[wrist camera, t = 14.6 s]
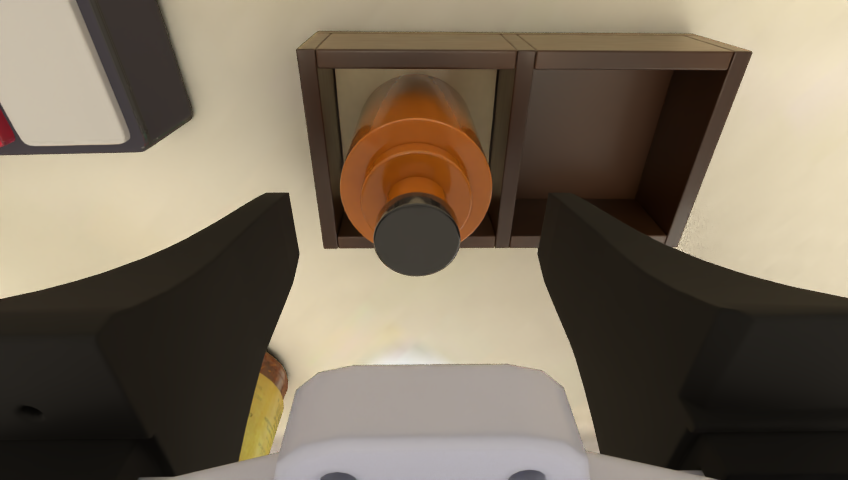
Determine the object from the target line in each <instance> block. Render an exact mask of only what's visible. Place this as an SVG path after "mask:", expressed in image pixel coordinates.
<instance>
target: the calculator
mask: <svg viewBox="0 0 848 480" xmlns="http://www.w3.org/2000/svg"><path fill="white" fill-rule="evenodd" d="M191 118H192V109H191V105H190V102H189V99H188V96H187V93H186V90H185V87H184V83H183V80H182V77H181V74H180V71H179V68H178V65H177V62H176V59H175V55H174V52H173V49H172V46H171V43H170V40H169V37H168V34H167V31H166V27H165V24H164V21H163V18H162V15H161V12H160V9H159V6H158V3H157V0H0V155H33V154H79V153H125V152H142V151H145V150H147V149H149V148H150V147H152V146H153V145H155V144H156V143H157V142H159V141H160V140H162V139H163V138H165V137H166V136H168V135H169V134H171V133H172V132H174V131H175V130H177V129H178V128H180V127H181V126H182V125H184V124H185V123H187V122H188V121H189V120H190V119H191Z"/></svg>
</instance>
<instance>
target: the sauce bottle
mask: <svg viewBox="0 0 848 480" xmlns="http://www.w3.org/2000/svg"><path fill="white" fill-rule="evenodd" d="M287 389H288V379H287V374H286V371H285V370H284V368H283V366H282V364H281V363H279V362H278V361H277V360H276V359H275V358H274V357H273V356H271V355H270V354H269V353H268V352H266V353H265V356H264V359H263V362H262V366H261V370H260V373H259V377H258V381H257V385H256V388H255V392H254V396H253V400H252V404H251V408H250V413H249V417H248V421H247V425H246V429H245V434H244V439H243V443H242V448H241V453H240V457H239V461H244V460H248V459H252V458H256V457H260V456H265V455H269V453H270V450H271V446H272V443H273V440H274V437H275V434H276V431H277V427H278V424H279V421H280V418H281V415H282V412H283V408H284V407H283V399H284V396H285V394H286V391H287Z"/></svg>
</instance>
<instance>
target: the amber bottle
mask: <svg viewBox="0 0 848 480" xmlns="http://www.w3.org/2000/svg"><path fill="white" fill-rule="evenodd" d="M340 195H341V200H342V204H343V207H344V210H345V212H346V214H347V216H348V218H349V220H350V221H351V223H352V224H353V226H354V227H355V228H356V229H357V230H358V231H359V232H360V233H361V234H362V235H363V236H364V237H365V238H366V239H368V240H369V241H371V242H372V243H374V248H375V251H376V253H377V255H378V257H379V258H380V260H381V261H382V262H383V263H384V264H385V265H386V266H387V267H389V268H390V269H392V270H393V271H395V272H398V273H400V274H403V275H408V276H426V275H430V274H433V273H436V272H438V271H440V270H442V269H444V268H445V267H446V266H448V265H449V264H450V263H451V262H452V261H453V259H454V258H455V256H456V255H457V253H458V251H459V247H460V242H462V241H463V240H464V239H466V238H467V237H468V236H469V235H470V234H472V233H473V232H474V230H475V229H476V228H477V227H478V226H479V224H480V223H481V221H482V220H483V218H484V217H485V215H486V212H487V210H488V208H489V205H490V202H491V196H492V176H491V171H490V168H489V164H488V162H487V159H486V156H485V153H484V150H483V147H482V145H481V142H480V139H479V136H478V133H477V130H476V127H475V125H474V122H473V119H472V116H471V113H470V111H469V108H468V106H467V104H466V102H465V101H464V99H463V98H462V96H461V95H460V94H459V93H458V92H457V91H456V90H455V89H454V88H453V87H452V86H450V85H449V84H448V83H446V82H444V81H442V80H440V79H438V78H435V77H433V76H429V75H424V74H407V75H402V76H398V77H395V78H392V79H390V80H388V81H386V82H385V83H383V84H382V85H380V86H379V87H378V88H377V89H376V90H374V91H373V92H372V94H371V95H370V96H369V97H368V99H367V100H366V102H365V104H364V106H363V108H362V110H361V113H360V116H359V119H358V122H357V125H356V128H355V131H354V134H353V138H352V141H351V144H350V147H349V150H348V153H347V156H346V159H345V162H344V165H343V169H342V173H341V178H340Z"/></svg>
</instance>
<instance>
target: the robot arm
mask: <svg viewBox="0 0 848 480" xmlns="http://www.w3.org/2000/svg"><path fill="white" fill-rule="evenodd" d="M538 258H539V262H540V266H541V270H542V274H543V278H544V282H545V284H546V287H547V289H548V292H549V294H550V297H551V299H552V302H553V304H554V306H555V309H556V311H557V313H558V316H559V318H560V321H561V323H562V325H563V328H564V330H565V332H566V335H567V337H568V340H569V342H570V344H571V347H572V350H573V353H574V355H575V358H576V362H577V365H578V369H579V372H580V376H581V379H582V383H583V386H584V390H585V393H586V397H587V401H588V405H589V409H590V413H591V417H592V420H593V424H594V429H595V433H596V437H597V442H598V446H599V450H600V454H598V453H594V452H589V451H585V448H584V446H583V443H582V440H581V437H580V434H579V431H578V428H577V425H576V422H575V419H574V416H573V413H572V411H571V408H570V405H569V402H568V399H567V396H566V393H565V390H564V387H562V386H561V385H560V384H559V383H557V382H556V381H555V380H554V379H552V378H551V377H550V376H549V375H547V374H546V373H545V372H544V371H542V370H537V369H532V368H526V367H521V366H516V365H510V364H433V365H353V366H347V367H342V368H337V369H332V370H327V371H322V372H319V373H317V374H316V375H315V376H313V377H312V378H311V379H310V380H308V381H307V382H306V383H304V384H303V385H302V386H301V387H299V388H298V389H297V390H296V393H295V396H294V400H293V404H292V408H291V411H290V415H289V419H288V422H287V426H286V430H285V433H284V437H283V441H282V444H281V448H280V452H277V453H273V454H269V455H265V456H260V457H256V458H252V459H248V460H244V461H239V457H240V453H241V448H242V443H243V439H244V434H245V429H246V425H247V421H248V417H249V413H250V408H251V404H252V400H253V396H254V392H255V388H256V385H257V381H258V377H259V373H260V370H261V366H262V362H263V359H264V356H265V353H266V350H267V347H268V345H269V342H270V340H271V337H272V335H273V332H274V330H275V327H276V325H277V322H278V320H279V317H280V315H281V312H282V310H283V307H284V305H285V302H286V300H287V297H288V295H289V292H290V289H291V287H292V284H293V281H294V277H295V273H296V268H297V263H298V259H299V248H298V243H297V237H296V231H295V226H294V220H293V214H292V209H291V203H290V197H289V193H265V194H263V195H261V196H259V197H257V198H255V199H253V200H252V201H250V202H248V203H247V204H245V205H243V206H242V207H240V208H238V209H237V210H235V211H234V212H232V213H230V214H229V215H227V216H225V217H224V218H222V219H220V220H219V221H217V222H216V223H214V224H212V225H210V226H208V227H207V228H205V229H203V230H201V231H199V232H197V233H196V234H194V235H192V236H190V237H188V238H187V239H185V240H183V241H181V242H179V243H177V244H175V245H172V246H170V247H168V248H166V249H164V250H161V251H159V252H157V253H155V254H152V255H150V256H148V257H145V258H143V259H140V260H137V261H135V262H132V263H129V264H126V265H123V266H121V267H118V268H115V269H112V270H110V271H107V272H104V273H101V274H98V275H94V276H91V277H88V278H85V279H81V280H78V281H74V282H71V283H67V284H63V285H60V286H56V287H52V288H48V289H44V290H40V291H36V292H31V293H26V294H22V295H17V296H12V297H8V298H3V299H0V480H848V298H845V297H840V296H835V295H830V294H825V293H820V292H815V291H810V290H805V289H800V288H796V287H791V286H787V285H783V284H779V283H775V282H772V281H768V280H764V279H760V278H756V277H753V276H750V275H746V274H743V273H739V272H736V271H733V270H730V269H727V268H724V267H721V266H718V265H715V264H712V263H709V262H706V261H704V260H701V259H698V258H696V257H693V256H691V255H688V254H686V253H684V252H681V251H679V250H677V249H674V248H672V247H670V246H667V245H665V244H663V243H661V242H659V241H657V240H655V239H653V238H651V237H649V236H647V235H645V234H643V233H641V232H639V231H637V230H635V229H634V228H632V227H630V226H628V225H626V224H625V223H623V222H621V221H620V220H618V219H616V218H614V217H613V216H611V215H609V214H608V213H606V212H604V211H603V210H601V209H599V208H598V207H596V206H594V205H593V204H591V203H589V202H588V201H586V200H584V199H582V198H581V197H579V196H577V195H575V194H572V193H548V198H547V204H546V209H545V215H544V220H543V226H542V231H541V237H540V243H539V248H538Z"/></svg>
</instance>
